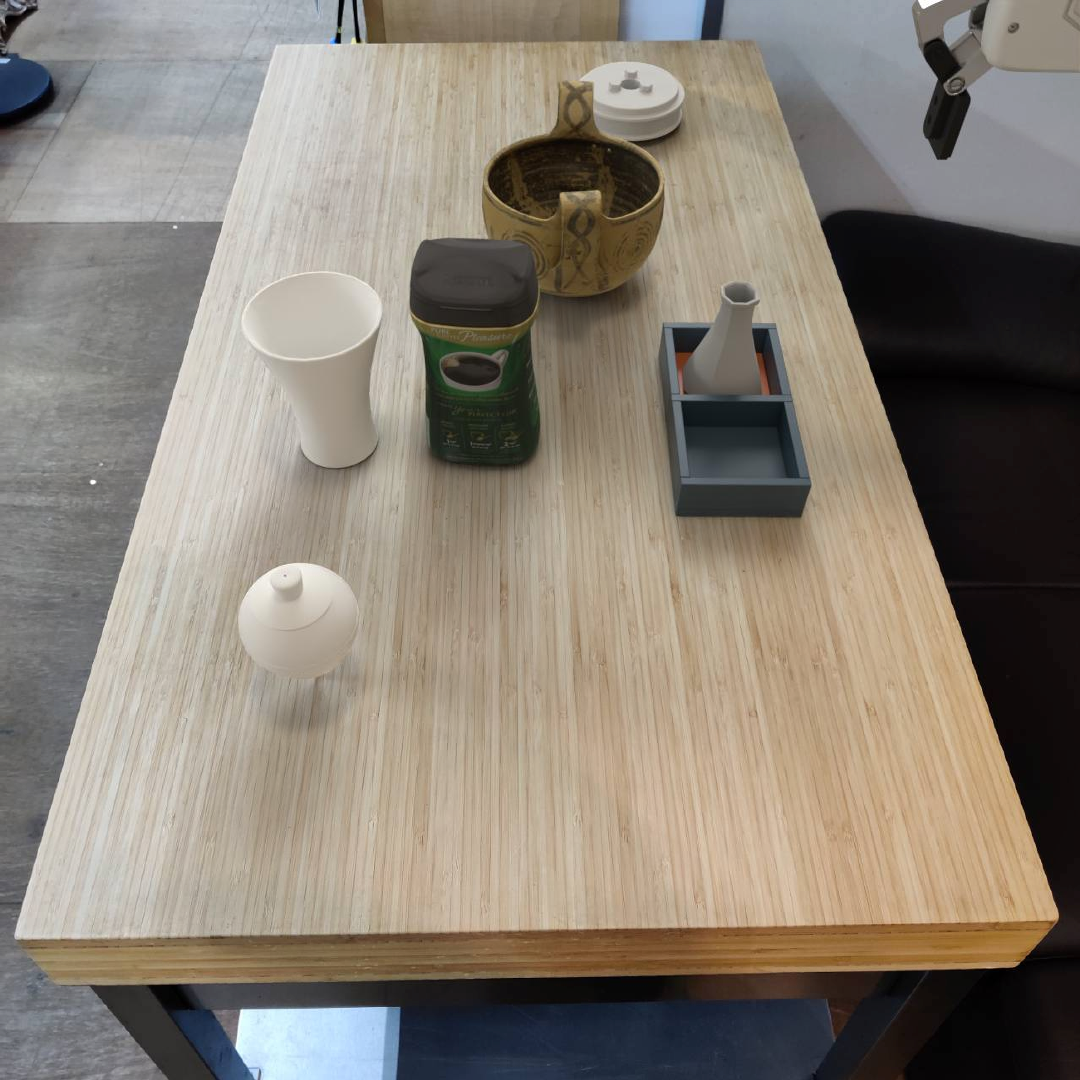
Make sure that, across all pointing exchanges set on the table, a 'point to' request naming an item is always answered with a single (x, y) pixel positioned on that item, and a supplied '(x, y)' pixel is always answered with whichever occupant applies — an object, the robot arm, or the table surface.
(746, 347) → the flask
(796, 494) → the divided tray
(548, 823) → the table surface
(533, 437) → the coffee jar
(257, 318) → the cup
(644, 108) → the lid
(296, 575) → the spinning top
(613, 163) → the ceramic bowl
